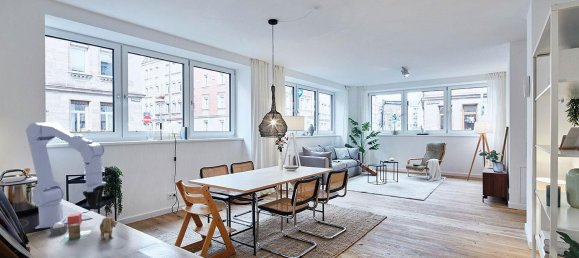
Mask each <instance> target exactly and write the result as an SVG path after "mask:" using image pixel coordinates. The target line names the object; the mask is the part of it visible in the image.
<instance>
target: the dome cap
mask: <svg viewBox="0 0 579 258" xmlns="http://www.w3.org/2000/svg"><path fill="white" fill-rule="evenodd" d="M64 224H65V223H64V222H58V223H56V224H54V226H53V228H60V227H63V226H64Z"/></svg>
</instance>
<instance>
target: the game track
mask: <svg viewBox="0 0 579 258" xmlns="http://www.w3.org/2000/svg"><path fill="white" fill-rule="evenodd" d="M95 227H96V225H91V226H90V225H89V226H83V227H81V226H80V238H79V239H76V240H69V233H68V232H67V234H66V235H65V236H64V237H63V238H62V239H61V241H60V242H59V243H66V242H74V241H80V240H81V241H82V240H86V239H87V237H88V236H89V235H90V234H91V232H92V231H93V230H94V228H95Z"/></svg>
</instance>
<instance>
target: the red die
mask: <svg viewBox="0 0 579 258" xmlns="http://www.w3.org/2000/svg"><path fill="white" fill-rule="evenodd" d="M82 214H83V213H82V212H79V213H78V212H77V213H71V214H69V215H68V216H67V227H68V226H69V225H72V224H80V225H81V224H82V222H83V215H82Z"/></svg>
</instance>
